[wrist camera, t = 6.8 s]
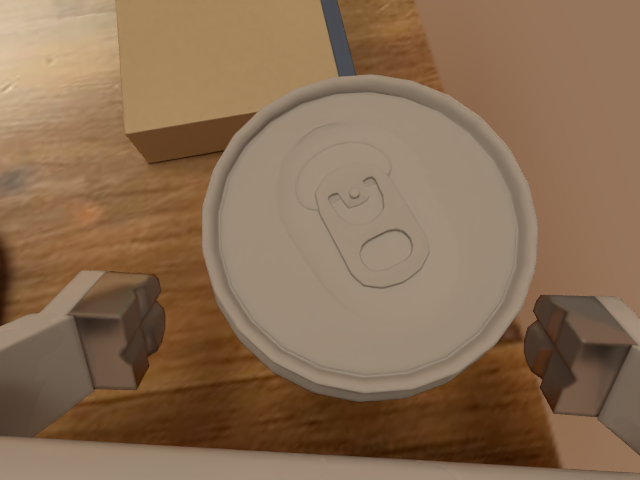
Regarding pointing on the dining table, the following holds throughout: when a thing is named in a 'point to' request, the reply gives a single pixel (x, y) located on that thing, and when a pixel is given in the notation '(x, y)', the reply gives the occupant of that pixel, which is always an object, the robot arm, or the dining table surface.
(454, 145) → the beverage can
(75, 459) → the robot arm
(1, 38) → the dining table surface
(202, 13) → the closed book
